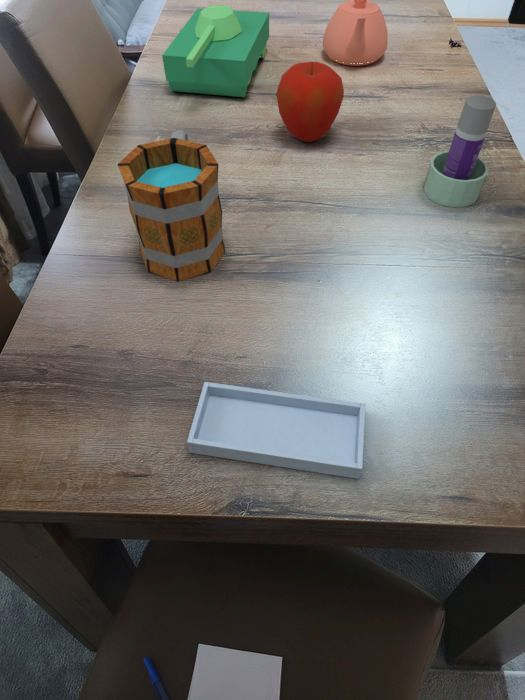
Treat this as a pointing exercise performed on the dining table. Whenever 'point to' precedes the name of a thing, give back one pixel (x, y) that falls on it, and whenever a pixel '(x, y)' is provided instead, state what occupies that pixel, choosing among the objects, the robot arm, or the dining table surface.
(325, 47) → the teapot
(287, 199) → the dining table surface
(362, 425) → the tray
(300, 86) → the apple
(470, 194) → the bowl
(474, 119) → the container
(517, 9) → the robot arm
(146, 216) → the mug
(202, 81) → the toy tank
